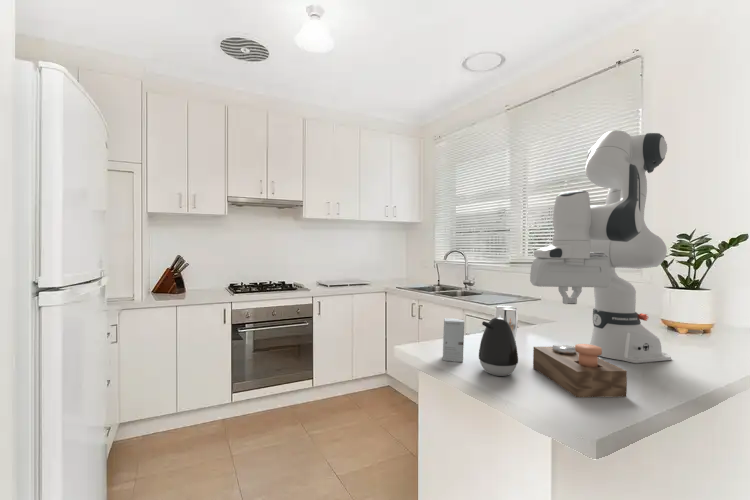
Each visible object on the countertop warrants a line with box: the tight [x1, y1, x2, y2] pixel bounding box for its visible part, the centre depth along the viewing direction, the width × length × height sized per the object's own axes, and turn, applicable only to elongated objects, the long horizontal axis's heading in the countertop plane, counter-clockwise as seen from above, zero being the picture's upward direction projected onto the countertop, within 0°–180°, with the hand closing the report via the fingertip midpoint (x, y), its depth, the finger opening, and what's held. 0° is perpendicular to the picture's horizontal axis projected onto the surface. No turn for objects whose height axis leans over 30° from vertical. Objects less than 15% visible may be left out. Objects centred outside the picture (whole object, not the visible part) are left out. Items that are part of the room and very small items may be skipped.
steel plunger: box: [552, 344, 576, 355], centre depth 98 cm, size 6×6×5 cm
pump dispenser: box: [478, 317, 519, 377], centre depth 98 cm, size 10×10×15 cm
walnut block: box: [532, 345, 628, 398], centre depth 93 cm, size 12×20×6 cm, turn 3°
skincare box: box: [442, 317, 465, 363], centre depth 109 cm, size 6×4×12 cm
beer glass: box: [493, 305, 519, 339], centre depth 114 cm, size 7×7×15 cm
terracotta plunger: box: [574, 343, 602, 367], centre depth 88 cm, size 6×6×5 cm
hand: (569, 304), depth 95 cm, fingers closed
